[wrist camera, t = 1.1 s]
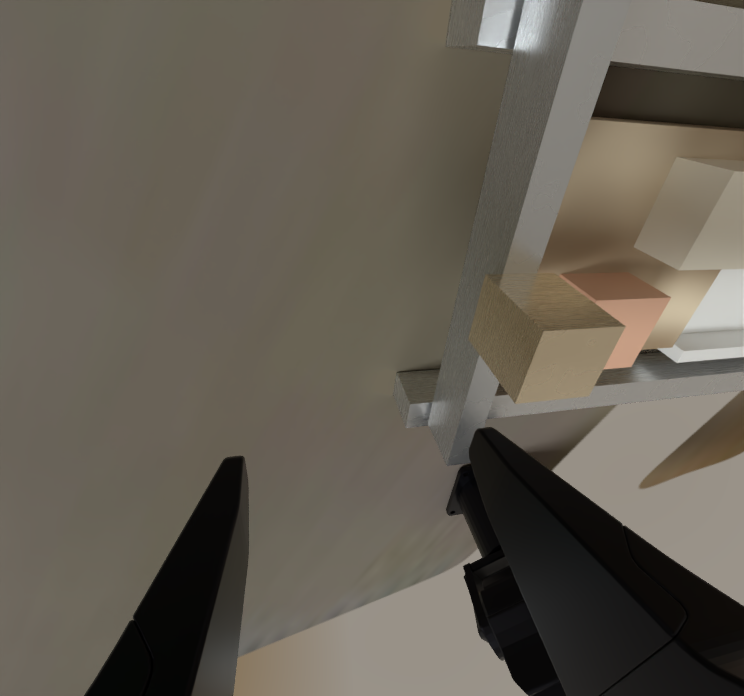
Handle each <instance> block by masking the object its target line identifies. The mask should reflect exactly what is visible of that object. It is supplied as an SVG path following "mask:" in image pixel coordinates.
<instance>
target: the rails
mask: <svg viewBox="0 0 744 696" xmlns="http://www.w3.org/2000/svg"><path fill="white" fill-rule="evenodd" d="M524 1H525V0H453V1H452V8H451V14H450V21H449V28H448V34H447V41H446V47H454V48H462V49H471V50H480V51H488V52H497V53H506V54H512V53H513V49H514V45H515V40H516V36H517V32H518V27H519V23H520V18H521V14H522V10H523V5H524ZM609 66H618V67H627V68H635V69H644V70H653V71H661V72H670V73H678V74H687V75H696V76H704V77H713V78H722V79H730V80H739V81H744V9H741V8H735V7H729V6H723V5H717V4H711V3H705V2H699V1H693V0H632V1H631V4H630V6H629V9H628V12H627V15H626V18H625V21H624V24H623V27H622V30H621V32H620V35H619V38H618V41H617V44H616V47H615V50H614V53H613V56H612V58H611V61H610V64H609ZM439 372H440V369H437V370H424V371H411V372H398V373H397V375H396V381H395V388H394V395H393V396H394V399H395V401H396V404H397V406H398V409H399V411H400V414H401V417H402V419H403V422H404V424H405V427H406V428H410V427H419V426H428V420H429V416H430V412H431V407H432V403H433V399H434V394H435V390H436V386H437V381H438V377H439ZM743 390H744V357H738V358H727V359H715V360H704V361H692V362H681V363H676V362H675V361H673V360H672V359H671V358H669V357H668V356H667V355H665V354H664V353H662V352H654V353H641V354H638V356H637V358H636V360H635V361H634V363H633V365H632V366H631V367H626V368H614V369H603V371H602V373H601V375H600V376H599V378H598V380H597V382H596V384H595V386H594V388H593V390H592V392H591V393H590V395H589V396H587V397H578V398H568V399H558V400H549V401H539V402H530V403H520V404H515V403H514V402H513V400H512V399H511V398H510V396H509V395H508V393H507V392H506V391H505V389H504V388H503V387H502V385H501V384H500V382H499V385H498V388H497V391H496V394H495V397H494V399H493V402H492V405H491V408H490V411H489V414H488V417H487V419H491V418H500V417H509V416H518V415H527V414H536V413H545V412H554V411H563V410H572V409H581V408H590V407H599V406H608V405H617V404H626V403H635V402H644V401H653V400H661V399H671V398H680V397H689V396H698V395H706V394H715V393H725V392H734V391H743Z"/></svg>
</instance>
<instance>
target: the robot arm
mask: <svg viewBox="0 0 744 696" xmlns="http://www.w3.org/2000/svg"><path fill="white" fill-rule="evenodd" d="M469 459H470V462H471V465H472V466H469V467H463V468H461V469H460V470H459V471H458V474H457V477H456V480H455V483H454V487H453V490H452V493H451V496H450V499H449V502H448V505H447V508H446V511H447V514H448V515H449V516H452V515H458V514H463V515H464V517H465V519H466V522H467V524H468V526H469V528H470V531H471V533H472V535H473V537H474V540H475V542H476V544H477V547H478V549H479V551H480V553H481V556H482V558H481V559H479V560H477V561H475V562H473V563H471V564H470V563H468V564H466V565H464V566H463V567H464V570H465V576H464V579H465V581H466V584H467V587H468V590H469V593H470V596H471V600H472V603H473V606H474V612H475V617H476V623H477V628H478V633H479V635H480V637H481V639H483V640H485V641H487V642H488V643H489V644H490V646H491V647H492V649H493V650H494V652H495V653H496V655H497V656H498V658H499V659H501V660H505V662H506V664H507V666H508V668H509V671H510V673H511V676H512V678H513V680H514V681H515V682H516V683H517V685H518V686H520V688H521V689H522V690H523V691H524V692H525V693H526V694H527V695H529V696H744V606H743V605H741V604H739V603H738V602H736V601H735V600H733V599H732V598H730V597H729V596H727V595H726V594H724V593H723V592H721V591H719V590H718V589H716V588H715V587H713V586H712V585H710V584H709V583H707V582H706V581H704V580H703V579H701V578H699V577H698V576H696V575H695V574H693V573H692V572H690V571H689V570H687V569H686V568H684V567H683V566H681V565H680V564H678V563H677V562H675V561H674V560H672V559H671V558H669V557H668V556H666V555H665V554H664V553H662V552H661V551H659V550H658V549H657V548H655V547H654V546H652V545H651V544H649V543H648V542H646V541H645V540H644V539H643V538H641V537H640V536H639V535H637V534H636V533H634V532H633V531H632V530H630V529H629V528H628V527H626V526H623V525H622V523H621V522H620V521H618V520H617V519H615V518H614V517H613V516H611V515H610V514H609V513H607V512H606V511H605V510H603V509H602V508H601V507H599V506H598V505H597V504H595V503H594V502H593V501H591V500H590V499H589V498H587V497H586V496H585V495H583V494H582V493H580V492H579V491H578V490H576V489H575V488H574V487H572V486H571V485H570V484H568V483H567V482H566V481H564V480H563V479H561V478H560V477H559V476H558V475H556V474H555V473H554V472H552V471H551V470H550V469H548V468H547V467H545V466H544V465H543V464H541V463H540V462H539V461H537V460H536V459H535V458H533V457H532V456H531V455H529V454H528V453H527V452H525V451H524V450H523V449H521V448H520V447H519V446H517V445H516V444H515V443H513V442H512V441H510V440H509V439H508V438H506V437H505V436H504V435H502V434H501V433H500V432H498V431H497V430H496V429H494V428H492V427H485V428H478V429H477V430H476V431H475V432H474V435H473V438H472V441H471V444H470V447H469ZM248 555H249V498H248V477H247V470H246V464H245V458H244V457H243V456H233V457H227V458H225V459H224V460H223V461H222V463H221V465H220V467H219V468H218V470H217V472H216V473H215V475H214V477H213V479H212V480H211V482H210V484H209V486H208V487H207V489H206V491H205V492H204V494H203V496H202V498H201V499H200V501H199V503H198V505H197V506H196V508H195V510H194V511H193V513H192V515H191V517H190V518H189V520H188V522H187V523H186V525H185V527H184V529H183V530H182V532H181V534H180V536H179V537H178V539H177V541H176V542H175V544H174V546H173V548H172V549H171V551H170V553H169V555H168V556H167V558H166V560H165V561H164V563H163V565H162V567H161V568H160V570H159V572H158V574H157V575H156V577H155V579H154V580H153V582H152V584H151V586H150V587H149V589H148V591H147V592H146V594H145V596H144V598H143V599H142V601H141V603H140V605H139V606H138V608H137V610H136V611H135V613H134V615H133V619H134V620H131V621H130V622H129V623H128V625H127V627H126V628H125V630H124V632H123V634H122V635H121V637H120V639H119V640H118V642H117V644H116V646H115V647H114V649H113V650H112V652H111V654H110V655H109V657H108V659H107V660H106V662H105V664H104V665H103V667H102V668H101V670H100V672H99V673H98V675H97V677H96V678H95V680H94V681H93V683H92V684H91V686H90V687H89V689H88V690H87V692H86V693H85V695H84V696H233V692H234V684H235V675H236V666H237V657H238V648H239V639H240V630H241V621H242V612H243V603H244V594H245V585H246V576H247V567H248Z"/></svg>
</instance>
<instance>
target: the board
mask: <svg viewBox="0 0 744 696" xmlns="http://www.w3.org/2000/svg"><path fill="white" fill-rule="evenodd" d="M676 157H686V158H704V159H721V160H739V161H744V129H741V128H728V127H716V126H704V125H691V124H679V123H666V122H654V121H642V120H629V119H617V118H605V117H592V116H591V119H590V122H589V125H588V128H587V131H586V134H585V136H584V139H583V142H582V145H581V148H580V151H579V154H578V157H577V160H576V163H575V165H574V168H573V171H572V174H571V177H570V180H569V183H568V186H567V189H566V191H565V194H564V197H563V200H562V203H561V206H560V209H559V212H558V215H557V217H556V220H555V223H554V226H553V229H552V232H551V235H550V238H549V241H548V243H547V246H546V249H545V252H544V255H543V258H542V261H541V264H540V267H539V269H538V272H537V273H555V274H556V275H558V276H559V275H560V274H576V273H620V272H629V273H631V274H632V275H634V276H636V277H637V278H639V279H641V280H643V281H644V282H646V283H648V284H649V285H651V286H653V287H654V288H656V289H658V290H659V291H661V292H663V293H664V294H666V295H668V296H670V297H671V299H670V301H669V302H668V304H667V306H666V308H665V309H664V311H663V313H662V314H661V316H660V318H659V320H658V321H657V323H656V325H655V327H654V328H653V330H652V332H651V334H650V335H649V337H648V339H647V340H646V342H645V344H644V346H643V347H642V349H641V350H646V349H659V348H672V347H673V345H674V344H675V342H676V341H677V339H678V338H679V336H680V334H681V333H682V331H683V330H684V328H685V326H686V325H687V323H688V322H689V320H690V319H691V317H692V315H693V314H694V312H695V311H696V309H697V307H698V306H699V304H700V303H701V301H702V299H703V298H704V296H705V295H706V293H707V292H708V290H709V288H710V287H711V285H712V284H713V282H714V280H715V279H716V277H717V276H718V274H719V272H720V271H721V270H677V269H675V268H673V267H671V266H669V265H667V264H665V263H663V262H662V261H660V260H658V259H656V258H654V257H652V256H650V255H648V254H646V253H644V252H642V251H640V250H638V249H636V248H634V245H635V243H636V241H637V239H638V237H639V234H640V232H641V230H642V228H643V226H644V224H645V222H646V220H647V218H648V216H649V213H650V211H651V209H652V207H653V205H654V203H655V201H656V199H657V197H658V195H659V192H660V190H661V188H662V186H663V184H664V182H665V180H666V178H667V176H668V174H669V172H670V169H671V167H672V165H673V163H674V161H675V159H676Z"/></svg>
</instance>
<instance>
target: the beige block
mask: <svg viewBox="0 0 744 696" xmlns="http://www.w3.org/2000/svg"><path fill="white" fill-rule="evenodd" d="M634 248H636V249H638V250H640V251H642V252H644V253H646V254H648V255H650V256H652V257H654V258H656V259H658V260H660V261H662V262H663V263H665V264H667V265H669V266H671V267H673V268H675V269H677V270H721V269H744V161H739V160H721V159H704V158H686V157H676V159H675V161H674V163H673V165H672V167H671V169H670V172H669V174H668V176H667V178H666V180H665V182H664V184H663V186H662V188H661V190H660V192H659V195H658V197H657V199H656V201H655V203H654V205H653V207H652V209H651V211H650V213H649V216H648V218H647V220H646V222H645V224H644V226H643V228H642V230H641V232H640V234H639V237H638V239H637V241H636V243H635V245H634Z"/></svg>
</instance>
